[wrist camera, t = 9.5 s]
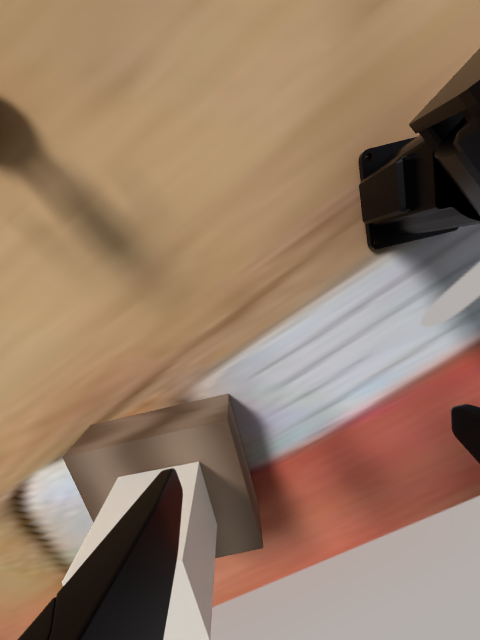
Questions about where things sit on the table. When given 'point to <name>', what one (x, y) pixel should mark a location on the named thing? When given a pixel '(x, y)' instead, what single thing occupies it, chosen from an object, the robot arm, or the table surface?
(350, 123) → the table surface
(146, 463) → the walnut slab
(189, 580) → the off-white cube
